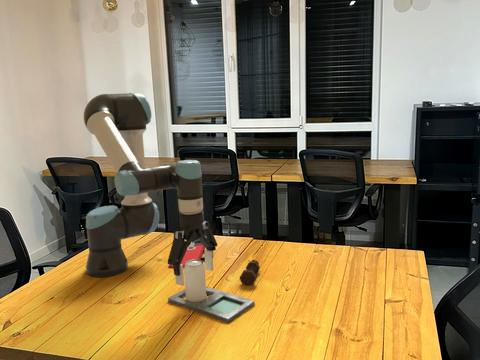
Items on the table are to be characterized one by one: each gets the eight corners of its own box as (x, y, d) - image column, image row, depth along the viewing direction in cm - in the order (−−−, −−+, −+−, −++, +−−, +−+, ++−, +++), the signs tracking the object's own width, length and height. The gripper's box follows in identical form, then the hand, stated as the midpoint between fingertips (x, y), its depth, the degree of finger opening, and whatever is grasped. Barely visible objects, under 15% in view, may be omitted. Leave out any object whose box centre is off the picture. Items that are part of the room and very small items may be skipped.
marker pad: (207, 310, 133) (207, 309, 133) (223, 299, 139) (223, 299, 139) (228, 317, 128) (228, 316, 128) (244, 306, 134) (244, 305, 134)
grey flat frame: (168, 301, 139) (167, 298, 139) (196, 286, 149) (195, 283, 149) (228, 322, 125) (228, 318, 125) (254, 304, 135) (254, 300, 135)
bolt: (257, 273, 163) (250, 289, 149) (245, 266, 164) (237, 282, 149) (264, 260, 162) (258, 275, 147) (252, 253, 162) (245, 268, 148)
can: (209, 295, 142) (207, 259, 140) (201, 304, 137) (199, 267, 134) (191, 292, 145) (189, 258, 142) (182, 301, 139) (180, 265, 136)
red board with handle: (216, 241, 195) (182, 242, 196) (216, 235, 194) (182, 236, 195) (208, 268, 166) (168, 270, 167) (207, 261, 165) (167, 263, 166)
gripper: (170, 223, 123) (175, 294, 127) (226, 203, 143) (229, 266, 147) (151, 219, 128) (157, 288, 131) (208, 201, 147) (211, 261, 151)
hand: (195, 276), depth 139 cm, fingers open, 13 cm apart
